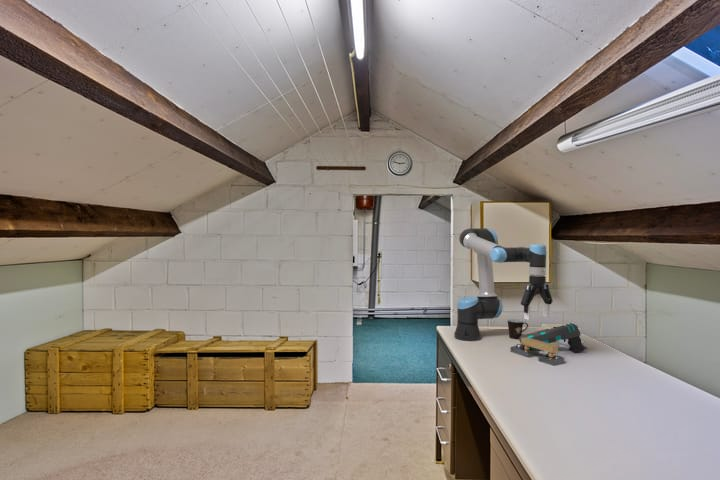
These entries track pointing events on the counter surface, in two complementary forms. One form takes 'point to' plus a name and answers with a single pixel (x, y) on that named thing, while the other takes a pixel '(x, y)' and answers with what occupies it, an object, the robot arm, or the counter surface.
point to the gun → (559, 336)
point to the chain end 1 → (524, 351)
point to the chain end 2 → (551, 359)
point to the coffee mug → (515, 328)
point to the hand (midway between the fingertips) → (536, 318)
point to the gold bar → (539, 346)
